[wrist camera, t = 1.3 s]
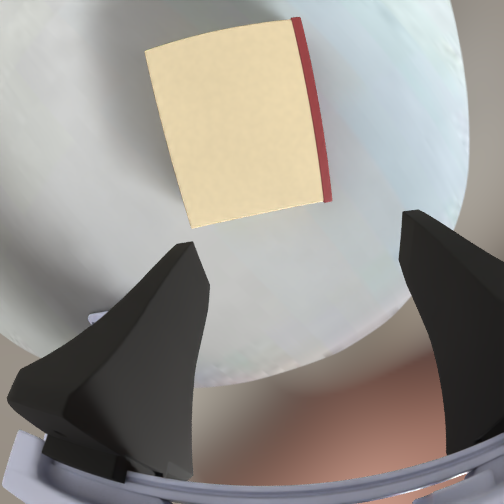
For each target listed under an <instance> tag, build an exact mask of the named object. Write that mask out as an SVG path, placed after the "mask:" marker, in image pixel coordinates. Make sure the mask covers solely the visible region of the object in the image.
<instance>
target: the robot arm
mask: <svg viewBox="0 0 504 504" xmlns="http://www.w3.org/2000/svg"><path fill="white" fill-rule="evenodd" d="M399 262H400V266H401V269H402V272H403V275H404V278H405V281H406V284H407V286H408V289H409V291H410V293H411V295H412V297H413V300H414V302H415V304H416V307H417V309H418V311H419V313H420V316H421V318H422V320H423V323H424V325H425V327H426V330H427V332H428V334H429V338H430V340H431V344H432V347H433V351H434V355H435V359H436V363H437V368H438V373H439V377H440V383H441V389H442V395H443V403H444V412H445V424H446V453H447V456H445V457H442V458H439V459H436V460H433V461H429V462H426V463H423V464H419V465H416V466H412V467H408V468H404V469H400V470H396V471H392V472H387V473H383V474H378V475H373V476H367V477H362V478H356V479H349V480H343V481H335V482H326V483H317V484H304V485H289V486H237V485H236V486H235V485H220V484H207V483H197V482H189V481H187V480H189V479H190V478H191V477H192V476H193V466H192V432H191V431H192V428H191V427H192V423H191V422H192V421H191V420H192V401H193V387H194V376H195V369H196V363H197V358H198V353H199V349H200V344H201V340H202V335H203V331H204V326H205V322H206V317H207V312H208V304H209V292H210V284H209V281H208V279H207V276H206V274H205V271H204V269H203V266H202V264H201V261H200V259H199V256H198V254H197V251H196V248H195V246H194V243H193V241H192V242H186V243H180V244H176V245H175V246H174V247H173V248H172V249H171V250H170V251H169V252H168V253H167V254H166V255H165V256H164V257H163V258H162V259H161V260H160V261H159V262H158V263H157V264H156V265H155V266H154V267H153V268H152V269H151V270H150V271H149V272H148V273H147V274H146V275H145V276H144V277H143V279H142V280H141V281H140V282H139V283H138V284H137V285H136V286H135V287H134V288H133V289H132V290H131V291H130V292H129V293H128V294H127V295H126V296H125V297H124V298H123V299H122V300H120V301H119V302H118V303H117V304H116V305H115V306H114V307H113V308H112V309H111V310H109V311H105V312H99V313H93V314H90V315H89V316H88V320H89V322H90V324H91V326H90V327H88V328H87V329H86V330H84V331H83V332H82V333H80V334H79V335H78V336H76V337H75V338H74V339H72V340H71V341H69V342H68V343H66V344H65V345H63V346H62V347H60V348H58V349H57V350H55V351H53V352H52V353H50V354H48V355H47V356H45V357H43V358H41V359H39V360H37V361H35V362H33V363H32V364H30V365H28V366H26V367H24V368H22V369H20V371H19V373H18V374H17V376H16V379H15V381H14V383H13V385H12V387H11V390H10V392H9V394H8V396H7V401H8V403H9V405H10V406H11V407H12V408H13V409H14V410H15V411H16V412H17V413H18V414H20V415H21V416H22V417H23V418H25V419H26V420H28V421H29V422H30V423H32V424H33V425H35V426H36V427H37V428H39V429H40V430H42V431H43V432H45V436H44V439H43V440H42V439H41V438H38V437H37V436H34V435H32V434H29V433H27V432H25V431H22V430H18V433H17V436H16V439H15V442H14V445H13V448H12V451H11V454H10V458H9V460H8V464H7V467H6V471H5V474H4V478H3V482H2V486H3V487H4V488H5V489H7V490H8V491H9V492H10V493H12V494H13V495H15V496H16V497H18V498H19V499H20V500H22V501H23V502H24V503H26V504H172V503H171V502H175V503H181V504H357V503H362V502H369V501H374V500H378V499H383V498H388V497H392V496H396V495H400V494H405V493H408V492H412V491H416V490H419V489H422V488H426V487H429V486H432V485H435V484H438V483H441V482H444V481H447V480H449V479H452V478H455V477H458V476H460V475H463V474H465V473H468V472H469V473H468V474H467V475H466V476H465V479H464V480H463V481H461V482H458V483H456V484H453V485H451V486H448V487H445V488H443V489H440V490H437V491H435V492H433V493H431V494H429V495H427V496H424V497H421V498H418V499H415V500H414V501H413V502H412V504H504V262H503V261H501V260H499V259H498V258H496V257H494V256H492V255H491V254H489V253H487V252H485V251H484V250H482V249H481V248H479V247H477V246H476V245H474V244H473V243H471V242H470V241H468V240H466V239H465V238H463V237H462V236H460V235H459V234H457V233H456V232H454V231H453V230H451V229H450V228H448V227H447V226H445V225H444V224H442V223H441V222H439V221H437V220H436V219H434V218H433V217H431V216H429V215H428V214H426V213H424V212H422V211H420V210H411V211H403V213H402V228H401V240H400V251H399ZM94 322H95V323H94ZM169 501H170V502H169Z"/></svg>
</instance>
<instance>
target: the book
mask: <svg viewBox="0 0 504 504" xmlns="http://www.w3.org/2000/svg"><path fill="white" fill-rule="evenodd" d="M145 57H146V61H147V66H148V70H149V74H150V79H151V83H152V87H153V91H154V95H155V99H156V103H157V107H158V111H159V115H160V119H161V123H162V127H163V131H164V135H165V138H166V142H167V146H168V150H169V153H170V157H171V161H172V164H173V168H174V171H175V175H176V178H177V182H178V185H179V189H180V192H181V196H182V199H183V202H184V206H185V209H186V212H187V216H188V219H189V222H190V226H191V228H192V229H193V228H197V227H201V226H206V225H210V224H215V223H219V222H224V221H228V220H233V219H238V218H242V217H247V216H252V215H257V214H261V213H266V212H271V211H276V210H281V209H286V208H291V207H296V206H301V205H306V204H311V203H316V202H322V201H323V202H324V203H326V202H331V201H332V193H331V184H330V176H329V168H328V160H327V153H326V146H325V139H324V132H323V126H322V120H321V113H320V108H319V102H318V96H317V91H316V86H315V80H314V75H313V70H312V65H311V61H310V56H309V51H308V47H307V42H306V38H305V34H304V30H303V26H302V22H301V18H300V17H293V18H291V19H289V20H279V21H271V22H263V23H256V24H249V25H243V26H238V27H232V28H227V29H222V30H217V31H213V32H208V33H204V34H200V35H196V36H192V37H188V38H184V39H181V40H177V41H174V42H170V43H167V44H164V45H161V46H157V47H154V48H151V49H148V50H146V51H145Z"/></svg>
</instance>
